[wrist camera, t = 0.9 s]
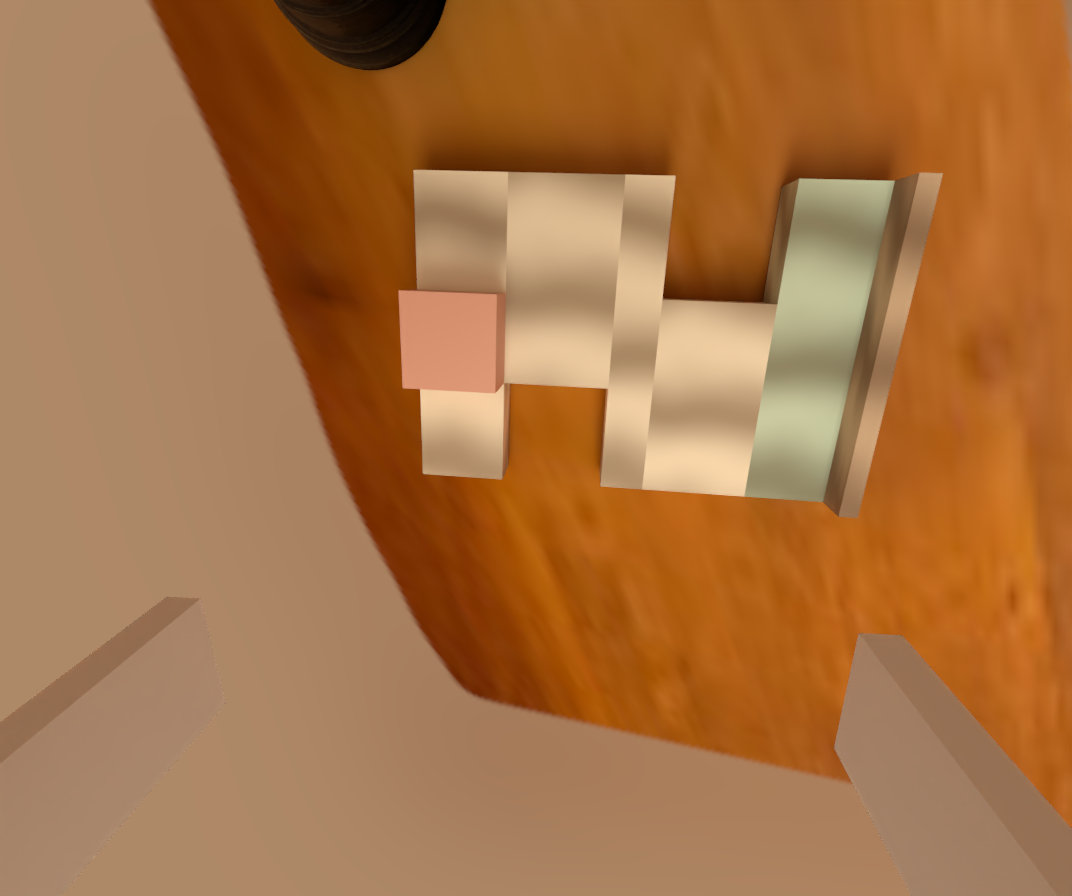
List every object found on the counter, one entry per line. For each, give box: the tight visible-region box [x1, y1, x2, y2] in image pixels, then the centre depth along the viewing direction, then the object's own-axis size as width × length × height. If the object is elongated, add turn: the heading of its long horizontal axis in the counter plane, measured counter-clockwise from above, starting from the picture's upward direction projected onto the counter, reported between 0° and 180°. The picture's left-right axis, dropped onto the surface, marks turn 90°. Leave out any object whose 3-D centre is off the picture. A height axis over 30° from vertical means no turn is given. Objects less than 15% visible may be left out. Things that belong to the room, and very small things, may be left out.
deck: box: [413, 170, 943, 518], centre depth 29 cm, size 17×25×4 cm
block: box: [399, 289, 506, 393], centre depth 28 cm, size 5×5×3 cm
